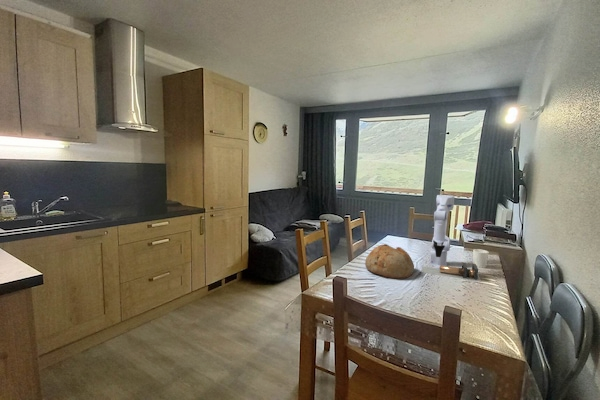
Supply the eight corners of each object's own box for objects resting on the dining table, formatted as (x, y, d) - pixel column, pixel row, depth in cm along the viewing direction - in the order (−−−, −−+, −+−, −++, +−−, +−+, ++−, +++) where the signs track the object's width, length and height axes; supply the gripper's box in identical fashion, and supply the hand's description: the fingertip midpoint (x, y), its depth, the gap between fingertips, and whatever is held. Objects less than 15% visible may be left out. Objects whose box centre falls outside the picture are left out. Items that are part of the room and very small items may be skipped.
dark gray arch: (463, 278, 150) (464, 267, 149) (461, 272, 158) (462, 262, 157) (466, 278, 149) (467, 267, 149) (464, 272, 158) (465, 262, 157)
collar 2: (474, 279, 148) (474, 268, 147) (471, 273, 156) (472, 263, 155) (477, 280, 147) (478, 269, 147) (474, 274, 156) (475, 263, 155)
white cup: (489, 269, 164) (491, 253, 163) (474, 268, 166) (476, 252, 164) (483, 265, 172) (485, 249, 170) (469, 264, 173) (471, 248, 172)
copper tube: (439, 273, 157) (440, 268, 156) (439, 269, 160) (440, 263, 159) (476, 279, 150) (477, 273, 148) (475, 274, 153) (476, 268, 151)
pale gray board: (421, 273, 158) (421, 272, 158) (421, 267, 168) (421, 266, 168) (481, 282, 146) (481, 281, 146) (477, 275, 156) (478, 274, 156)
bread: (357, 270, 162) (358, 245, 160) (378, 261, 178) (379, 238, 176) (400, 284, 143) (402, 256, 141) (419, 272, 159) (421, 247, 157)
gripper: (448, 235, 148) (446, 259, 150) (446, 229, 161) (445, 252, 163) (433, 233, 151) (432, 257, 153) (433, 228, 164) (431, 250, 166)
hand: (437, 254), depth 158 cm, fingers open, 7 cm apart
